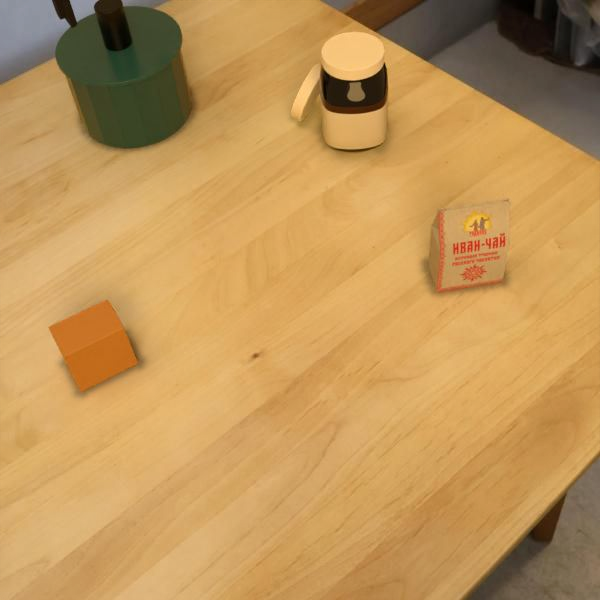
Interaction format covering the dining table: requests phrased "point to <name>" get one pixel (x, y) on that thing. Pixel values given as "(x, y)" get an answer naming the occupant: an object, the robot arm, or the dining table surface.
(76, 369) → the orange seamed cube
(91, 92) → the pot
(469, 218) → the tea bag
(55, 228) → the dining table surface
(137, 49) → the lid
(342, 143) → the spread jar
